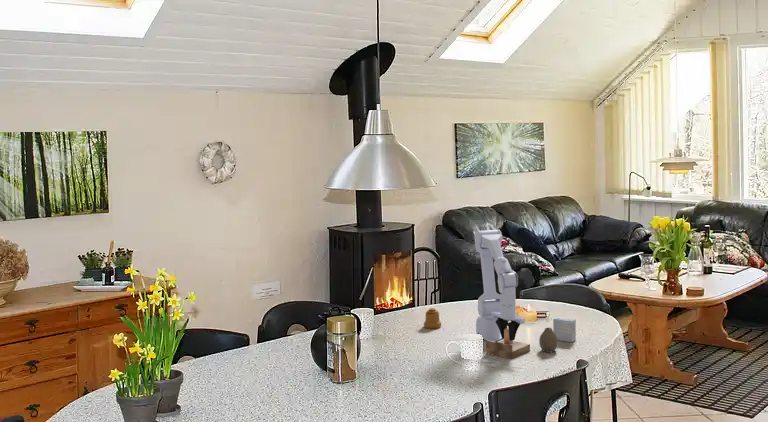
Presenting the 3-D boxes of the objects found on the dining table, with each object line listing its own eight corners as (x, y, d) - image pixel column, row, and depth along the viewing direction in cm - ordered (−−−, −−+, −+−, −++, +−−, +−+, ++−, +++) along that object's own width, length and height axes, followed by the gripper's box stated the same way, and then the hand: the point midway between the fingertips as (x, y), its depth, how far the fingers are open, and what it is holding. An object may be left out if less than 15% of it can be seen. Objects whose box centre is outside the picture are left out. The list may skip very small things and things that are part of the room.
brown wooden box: (486, 353, 298) (486, 340, 297) (505, 345, 307) (505, 333, 306) (510, 358, 290) (510, 345, 289) (530, 350, 300) (529, 337, 299)
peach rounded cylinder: (502, 343, 298) (502, 329, 298) (507, 341, 301) (507, 327, 300) (509, 345, 296) (509, 330, 295) (514, 343, 298) (514, 329, 298)
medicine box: (576, 339, 312) (576, 318, 311) (572, 342, 308) (572, 321, 307) (556, 337, 316) (556, 316, 315) (553, 340, 313) (552, 319, 312)
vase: (557, 353, 295) (558, 331, 294) (539, 353, 296) (539, 330, 295) (557, 348, 302) (557, 326, 301) (539, 347, 303) (539, 325, 302)
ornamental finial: (426, 324, 341) (443, 325, 339) (421, 328, 334) (438, 329, 332) (426, 306, 340) (443, 307, 338) (421, 310, 333) (438, 311, 331)
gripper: (529, 305, 293) (530, 340, 295) (499, 299, 304) (500, 333, 306) (518, 308, 289) (518, 344, 291) (487, 302, 300) (488, 337, 301)
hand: (508, 339), depth 298 cm, fingers closed on peach rounded cylinder, 3 cm apart
